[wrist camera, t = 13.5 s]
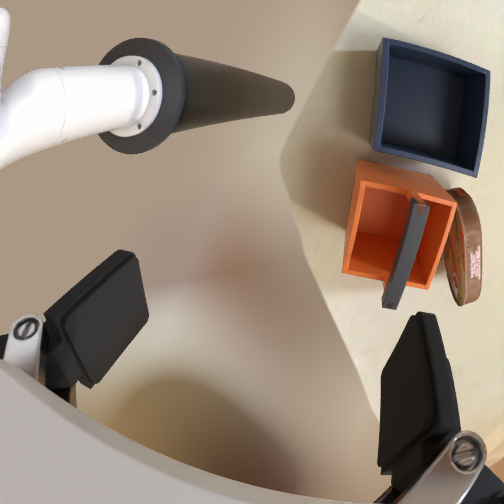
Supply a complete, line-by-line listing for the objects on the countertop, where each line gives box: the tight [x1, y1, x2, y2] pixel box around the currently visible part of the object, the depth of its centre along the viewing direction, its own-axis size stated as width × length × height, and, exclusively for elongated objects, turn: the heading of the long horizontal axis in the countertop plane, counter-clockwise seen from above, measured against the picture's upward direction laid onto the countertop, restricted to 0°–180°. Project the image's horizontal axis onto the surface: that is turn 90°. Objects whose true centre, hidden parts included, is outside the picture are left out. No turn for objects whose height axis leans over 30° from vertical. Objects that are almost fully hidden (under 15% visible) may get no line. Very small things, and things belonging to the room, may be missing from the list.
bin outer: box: [369, 38, 490, 178], centre depth 24 cm, size 12×12×7 cm
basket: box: [342, 160, 457, 310], centre depth 28 cm, size 10×10×15 cm
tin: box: [444, 188, 482, 306], centre depth 29 cm, size 15×3×8 cm, turn 23°
